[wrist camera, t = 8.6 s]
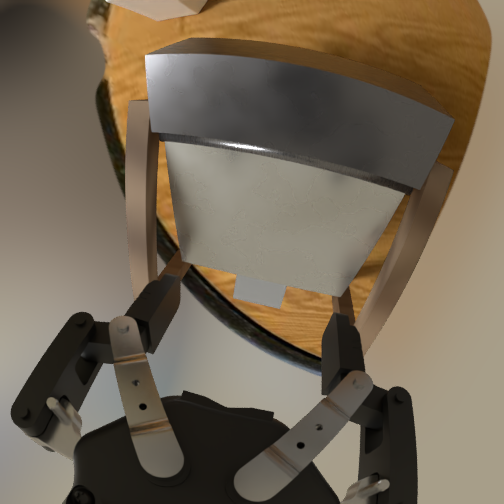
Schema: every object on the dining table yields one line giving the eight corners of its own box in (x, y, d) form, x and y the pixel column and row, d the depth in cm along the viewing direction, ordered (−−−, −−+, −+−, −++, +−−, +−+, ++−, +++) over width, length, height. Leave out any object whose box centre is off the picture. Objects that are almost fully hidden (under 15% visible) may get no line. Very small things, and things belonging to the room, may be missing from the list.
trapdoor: (178, 37, 12) (129, 56, 9) (432, 90, 11) (468, 127, 8) (190, 236, 26) (170, 279, 23) (344, 270, 25) (342, 319, 22)
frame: (202, 98, 24) (128, 100, 13) (389, 139, 23) (453, 170, 12) (188, 246, 33) (137, 320, 22) (341, 281, 32) (353, 371, 21)
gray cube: (239, 258, 27) (233, 297, 29) (291, 270, 26) (279, 308, 29) (248, 234, 31) (242, 271, 33) (293, 245, 31) (283, 281, 33)
